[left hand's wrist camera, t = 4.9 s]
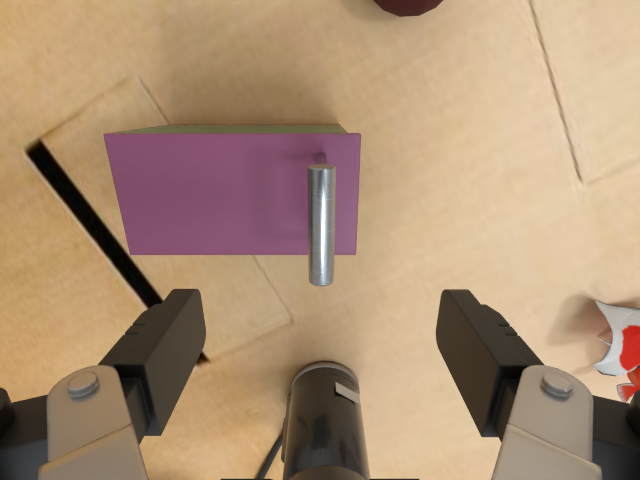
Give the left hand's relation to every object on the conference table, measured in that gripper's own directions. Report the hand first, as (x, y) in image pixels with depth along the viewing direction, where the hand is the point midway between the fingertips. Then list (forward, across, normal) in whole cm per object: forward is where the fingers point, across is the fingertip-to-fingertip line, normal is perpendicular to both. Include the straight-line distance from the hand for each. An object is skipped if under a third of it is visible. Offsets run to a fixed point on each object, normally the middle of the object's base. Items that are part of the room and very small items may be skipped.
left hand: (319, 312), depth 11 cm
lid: (+16, +6, 0) cm, 17 cm away
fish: (+27, -38, +21) cm, 51 cm away
